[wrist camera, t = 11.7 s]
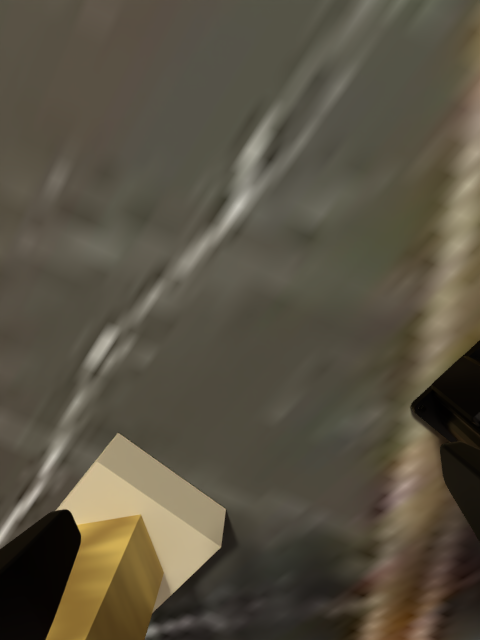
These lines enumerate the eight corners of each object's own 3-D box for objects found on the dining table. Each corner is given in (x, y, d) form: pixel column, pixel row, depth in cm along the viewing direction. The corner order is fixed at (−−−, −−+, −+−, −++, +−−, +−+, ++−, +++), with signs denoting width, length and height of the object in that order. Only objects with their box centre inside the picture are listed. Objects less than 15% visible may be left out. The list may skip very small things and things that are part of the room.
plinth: (225, 509, 23) (221, 547, 20) (152, 582, 25) (138, 626, 23) (117, 432, 22) (96, 461, 19) (51, 516, 24) (23, 552, 22)
